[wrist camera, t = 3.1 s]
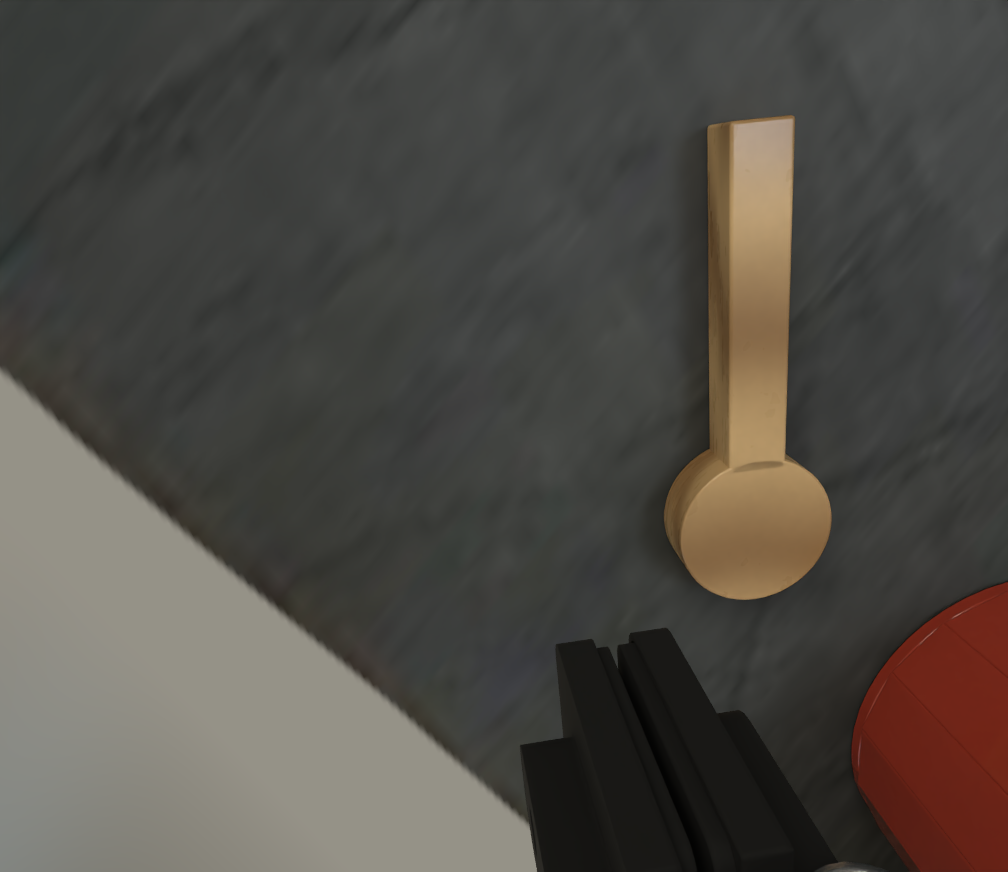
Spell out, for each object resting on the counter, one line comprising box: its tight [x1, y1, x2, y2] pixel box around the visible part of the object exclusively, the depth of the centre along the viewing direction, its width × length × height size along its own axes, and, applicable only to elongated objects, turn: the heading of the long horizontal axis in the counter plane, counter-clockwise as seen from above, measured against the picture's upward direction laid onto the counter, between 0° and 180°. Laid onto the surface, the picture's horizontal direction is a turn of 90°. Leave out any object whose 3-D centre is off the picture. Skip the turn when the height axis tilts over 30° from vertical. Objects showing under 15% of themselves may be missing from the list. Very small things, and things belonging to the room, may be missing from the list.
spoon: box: [664, 115, 831, 600], centre depth 20 cm, size 13×4×2 cm, turn 6°
